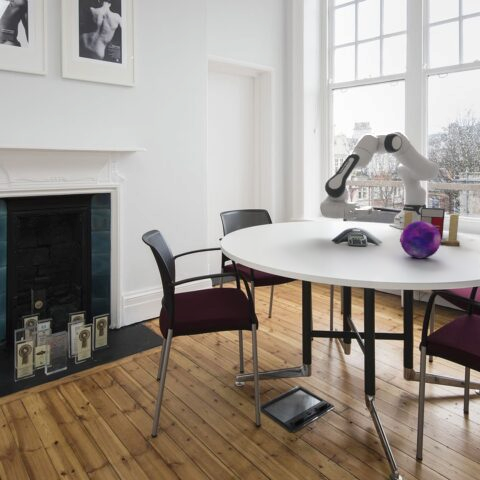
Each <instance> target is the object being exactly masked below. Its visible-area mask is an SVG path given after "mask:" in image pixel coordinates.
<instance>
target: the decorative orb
mask: <svg viewBox="0 0 480 480" xmlns="http://www.w3.org/2000/svg"><path fill="white" fill-rule="evenodd" d="M400 238H401V239H400ZM400 238H399V242H400V241H401V242H400V245H401V247H402V250H403V251H404V252H405V253H406V254H407V255H408V256H410V257H412V258H415V259H427V258H429V257H431V256H433V255H434V254H436V253H437V251H438V250H439V248H440V246H441V245H440V243H441V236H440V233H439V231H438V229H437V228H436V227H435V226H434V225H432V224H431V223H429V222H425V221H416V222H413V223H411V224H409V225H408V226H406V227H405V228H404V229H402V232H401V234H400Z"/></svg>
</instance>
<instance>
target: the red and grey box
mask: <svg viewBox="0 0 480 480" xmlns="http://www.w3.org/2000/svg"><path fill="white" fill-rule="evenodd" d="M445 212H446V209H445V208H443V207H442V208H439V207H437V208H436V207H426V208H422V209H421V220H420V221H425V222H429V223H431V224H432V225H434V226H435V227H436V228H437V229H438V231H439V233H440V236H441V237H443V238H444V225H445V224H444V223H445Z"/></svg>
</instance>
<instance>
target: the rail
mask: <svg viewBox="0 0 480 480" xmlns="http://www.w3.org/2000/svg"><path fill="white" fill-rule="evenodd" d="M400 239H401V237H400V238H399V243H401V241H400ZM440 246H451V247H460V240H458V243H454V242H446V240H441V243H440Z"/></svg>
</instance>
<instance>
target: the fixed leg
mask: <svg viewBox="0 0 480 480" xmlns="http://www.w3.org/2000/svg"><path fill="white" fill-rule="evenodd" d="M459 217H460V215H459V214H458V213H450V215H449V224H448V225H449V227H448V237H447V238H448V239H446V242H454V243H458V241H459V238H458V229H459V228H458V227H459V219H460V218H459ZM457 238H458V239H457Z"/></svg>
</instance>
